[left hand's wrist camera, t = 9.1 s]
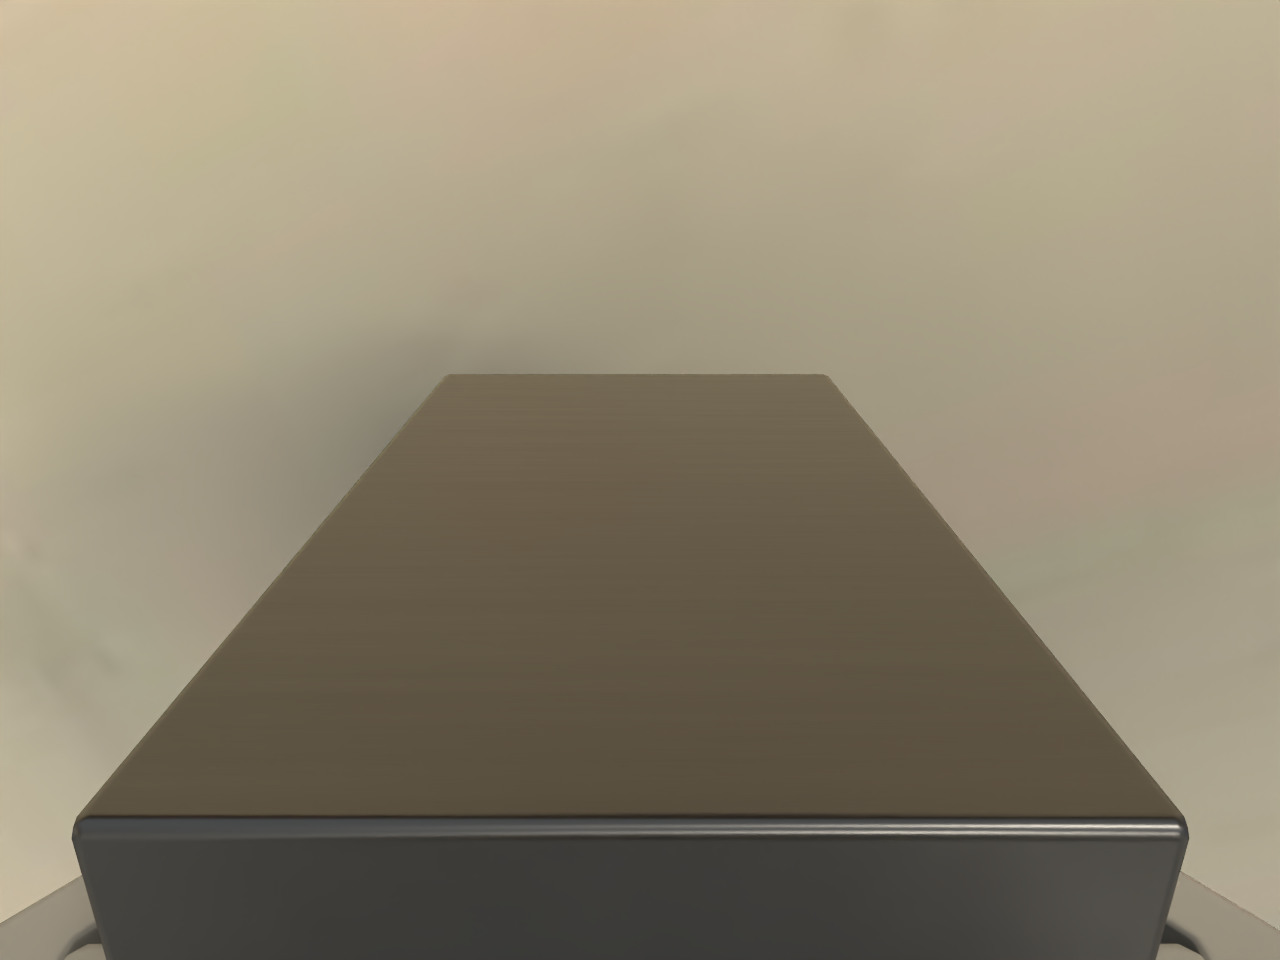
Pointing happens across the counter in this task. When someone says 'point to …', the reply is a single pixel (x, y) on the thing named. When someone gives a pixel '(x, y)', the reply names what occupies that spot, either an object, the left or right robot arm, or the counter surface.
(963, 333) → the counter surface
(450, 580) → the bar
